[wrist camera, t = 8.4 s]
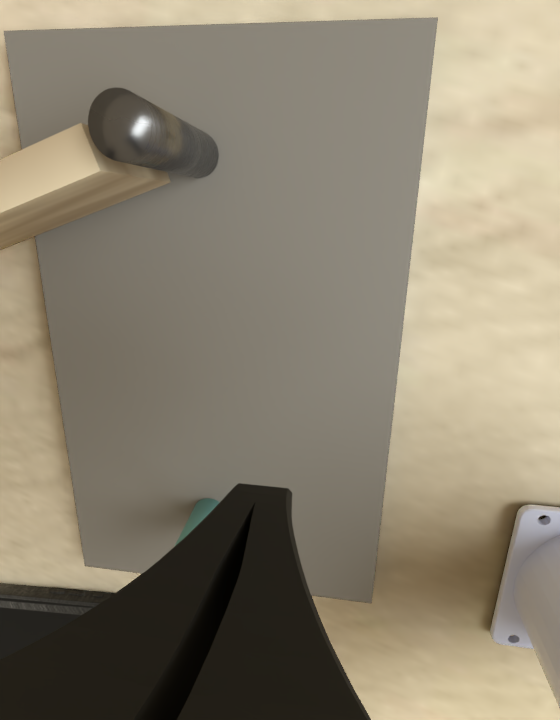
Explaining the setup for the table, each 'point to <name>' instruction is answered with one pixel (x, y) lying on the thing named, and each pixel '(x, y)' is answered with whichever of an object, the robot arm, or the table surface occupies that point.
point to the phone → (39, 612)
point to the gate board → (237, 280)
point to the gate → (64, 184)
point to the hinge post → (149, 135)
